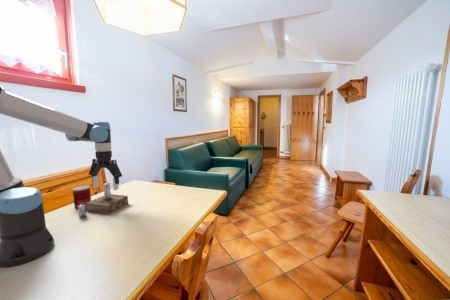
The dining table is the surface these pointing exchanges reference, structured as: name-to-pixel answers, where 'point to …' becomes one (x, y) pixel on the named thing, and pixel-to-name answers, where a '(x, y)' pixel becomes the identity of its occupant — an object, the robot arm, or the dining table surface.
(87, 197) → the canned food
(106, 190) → the long pin
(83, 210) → the short pin
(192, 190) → the dining table surface
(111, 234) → the dining table surface
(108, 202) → the hole block
